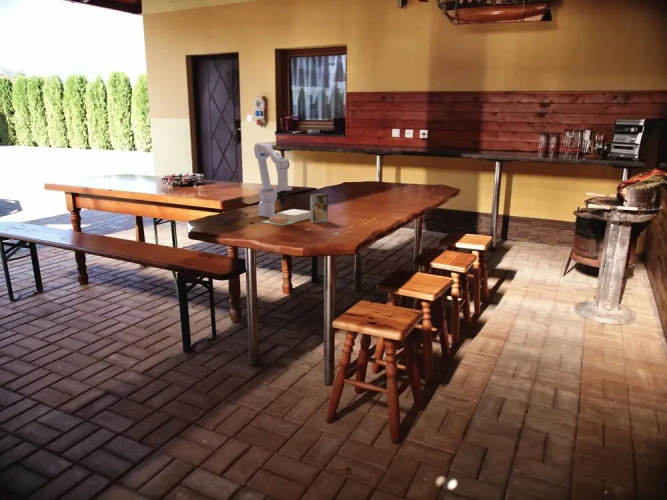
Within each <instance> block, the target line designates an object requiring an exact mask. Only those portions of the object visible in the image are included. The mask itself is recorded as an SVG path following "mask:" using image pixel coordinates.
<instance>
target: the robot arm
mask: <svg viewBox="0 0 667 500" xmlns="http://www.w3.org/2000/svg"><path fill="white" fill-rule="evenodd" d="M273 147H274V146H273V144H272V143H271V142H264V143H263V142H261V143H260V142H259V143H258V142H256V143H255V144H254V147H253V151H254V156H255V159H257V162H258V168H259V174H260V180H261V185H262V186H261V187H260V188H259V189H258V199H259V201H260V202H259V203H258V206H257V207H258V215H257V216H258V217H265V218H269V217H273V216H277V214H275V203H276V200H277V198H279V202H280V204H281V205H286V201H287V197H288V195H289V192H290V191H293V186H289V183H288V178H289V174H288V173H289V172H288V171H289V169H290V160H289V159H288V158H284V157H283V156H282V155H281V154H280V152H276V151H275V150H274V149H273ZM269 158H270V160H271V161H272V163H273V164H274V165H275V169H276V173H277V188H275V186H273V185H272V184H271V180H270V174H269V168H268V163H267V159H269Z"/></svg>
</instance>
